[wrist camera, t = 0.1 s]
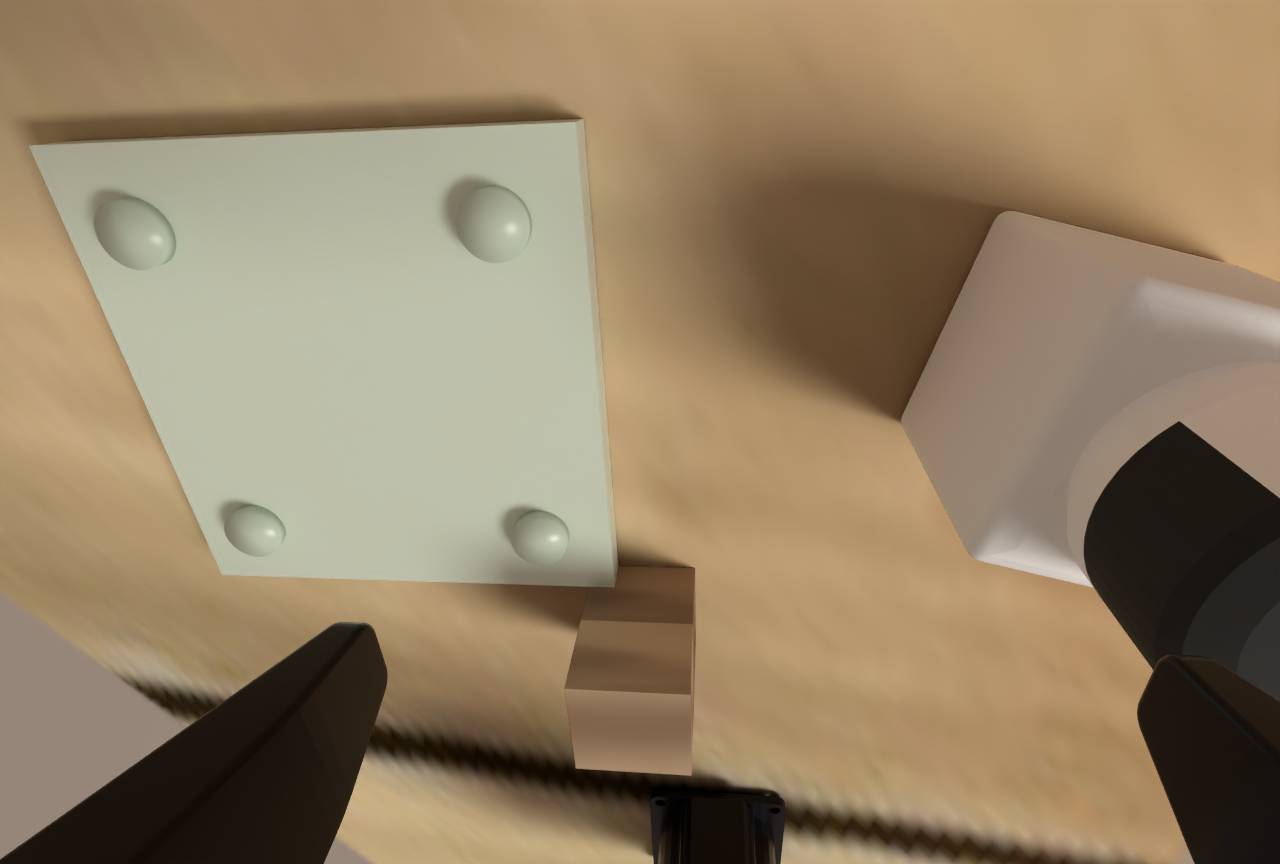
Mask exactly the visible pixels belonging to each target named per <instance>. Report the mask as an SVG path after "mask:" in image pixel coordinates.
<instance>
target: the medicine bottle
mask: <svg viewBox="0 0 1280 864" xmlns="http://www.w3.org/2000/svg"><path fill="white" fill-rule="evenodd" d="M901 425H902V427H903V428H904V430H905V432H906V434H907V436H908V438H909V440H910V442H911V444H912V446H913V448H914V450H915V452H916V453H917V455H918V457H919V459H920V461H921V463H922V465H923V467H924V469H925V471H926V473H927V475H928V477H929V479H930V480H931V482H932V484H933V486H934V488H935V490H936V492H937V494H938V496H939V498H940V500H941V502H942V504H943V506H944V507H945V509H946V511H947V513H948V515H949V517H950V519H951V521H952V523H953V525H954V527H955V529H956V531H957V532H958V534H959V536H960V538H961V540H962V542H963V544H964V546H965V548H966V550H967V552H968V554H969V555H970V556H972V557H973V558H974V559H976V560H978V561H982V562H987V563H991V564H995V565H999V566H1004V567H1008V568H1012V569H1016V570H1021V571H1025V572H1029V573H1033V574H1038V575H1042V576H1046V577H1050V578H1055V579H1059V580H1063V581H1067V582H1072V583H1076V584H1080V585H1085V586H1089V587H1093V588H1094V589H1095V590H1096V592H1097V593H1098V594H1099V596H1100V597H1101V598H1102V600H1103V601H1104V603H1105V604H1106V605H1107V607H1108V608H1109V609H1110V611H1111V612H1112V614H1113V615H1114V616H1115V618H1116V619H1117V621H1118V622H1119V623H1120V625H1121V626H1122V627H1123V629H1124V630H1125V632H1126V633H1127V634H1128V636H1129V637H1130V638H1131V640H1132V641H1133V643H1134V644H1135V645H1136V647H1137V648H1138V650H1139V651H1140V652H1141V654H1142V655H1143V656H1144V658H1145V659H1146V661H1147V662H1148V663H1149V665H1150V666H1151V667H1152V669H1153V670H1154V668H1155V666H1156V664H1157V662H1158V661H1159V660H1160V659H1161V658H1162V657H1164V656H1165V655H1170V654H1171V655H1197V656H1205V657H1209V658H1212V659H1214V660H1216V661H1217V662H1219V663H1221V664H1222V665H1224V666H1226V667H1227V668H1229V669H1230V670H1232V671H1233V672H1235V673H1237V674H1238V675H1240V676H1241V677H1243V678H1245V679H1246V680H1248V681H1249V682H1251V683H1252V684H1254V685H1256V686H1257V687H1259V688H1260V689H1262V690H1264V691H1265V692H1267V693H1268V694H1270V695H1272V696H1273V697H1275V698H1276V699H1278V700H1279V701H1280V282H1278V281H1275V280H1273V279H1270V278H1268V277H1265V276H1262V275H1260V274H1257V273H1255V272H1252V271H1250V270H1247V269H1244V268H1242V267H1239V266H1236V265H1232V264H1228V263H1224V262H1220V261H1216V260H1212V259H1208V258H1204V257H1200V256H1196V255H1192V254H1188V253H1184V252H1179V251H1175V250H1171V249H1167V248H1163V247H1159V246H1155V245H1151V244H1147V243H1143V242H1139V241H1135V240H1131V239H1127V238H1122V237H1118V236H1114V235H1110V234H1106V233H1102V232H1098V231H1094V230H1090V229H1086V228H1082V227H1078V226H1074V225H1070V224H1066V223H1061V222H1057V221H1053V220H1049V219H1045V218H1041V217H1037V216H1033V215H1029V214H1025V213H1021V212H1017V211H1005V212H1003V213H1001V214H999V215H998V216H997V217H996V219H995V220H994V222H993V224H992V226H991V228H990V230H989V232H988V235H987V237H986V239H985V241H984V243H983V245H982V247H981V249H980V252H979V254H978V256H977V258H976V260H975V262H974V264H973V266H972V269H971V271H970V273H969V275H968V277H967V279H966V281H965V283H964V286H963V288H962V290H961V292H960V294H959V296H958V298H957V300H956V303H955V305H954V307H953V309H952V311H951V313H950V315H949V317H948V319H947V322H946V324H945V326H944V328H943V330H942V332H941V334H940V336H939V339H938V341H937V343H936V345H935V347H934V349H933V351H932V353H931V356H930V358H929V360H928V362H927V364H926V366H925V368H924V370H923V373H922V375H921V377H920V379H919V381H918V383H917V385H916V387H915V390H914V392H913V394H912V396H911V398H910V400H909V402H908V404H907V406H906V409H905V411H904V413H903V415H902V419H901Z"/></svg>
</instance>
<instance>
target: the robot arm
mask: <svg viewBox="0 0 1280 864" xmlns="http://www.w3.org/2000/svg"><path fill="white" fill-rule="evenodd" d="M386 685H387V668H386V665H385V661H384V658H383V655H382V652H381V649H380V646H379V643H378V640H377V637H376V634H375V631H374V629H373V627H372V626H371V625H369V624H367V623H356V622H339V623H335V624H333V625H331V626H330V627H328V628H327V629H325V630H324V631H323V632H321V633H320V634H318V635H317V636H316V637H314V638H313V639H311V640H310V641H308V642H307V643H306V644H304V645H303V646H301V647H300V648H299V649H297V650H296V651H294V652H293V653H291V654H290V655H289V656H287V657H286V658H284V659H283V660H282V661H280V662H279V663H277V664H276V665H275V666H273V667H272V668H270V669H269V670H267V671H266V672H265V673H263V674H262V675H260V676H259V677H258V678H256V679H255V680H253V681H252V682H250V683H249V684H248V685H246V686H245V687H243V688H242V689H241V690H239V691H238V692H236V693H235V694H233V695H232V696H231V697H229V698H228V699H226V700H225V701H224V702H222V703H221V704H219V705H218V706H217V707H215V708H214V709H212V710H211V711H209V712H208V713H207V714H205V715H204V716H202V717H201V718H200V719H198V720H197V721H195V722H194V723H192V724H191V725H190V726H188V727H187V728H185V729H184V730H183V731H181V732H180V733H178V734H177V735H176V736H174V737H173V738H171V739H170V740H168V741H167V742H166V743H164V744H163V745H161V746H160V747H159V748H157V749H156V750H154V751H153V752H151V753H150V754H149V755H147V756H146V757H144V758H143V759H142V760H140V761H139V762H137V763H136V764H134V765H133V766H132V767H130V768H129V769H127V770H126V771H125V772H123V773H122V774H120V775H119V776H118V777H116V778H115V779H113V780H112V781H111V782H109V783H108V784H106V785H105V786H103V787H102V788H101V789H99V790H98V791H96V792H95V793H93V794H92V795H91V796H89V797H88V798H86V799H85V800H84V801H82V802H81V803H79V804H78V805H77V806H75V807H74V808H72V809H71V810H69V811H68V812H67V813H65V814H64V815H63V816H61V817H59V818H58V819H57V820H55V821H54V822H52V823H51V824H50V825H48V826H47V827H45V828H44V829H42V830H41V831H40V832H38V833H37V834H35V835H34V836H33V837H31V838H30V839H28V840H27V841H25V842H24V843H23V844H21V845H20V846H18V847H17V848H16V849H14V850H13V851H11V852H10V853H8V854H7V855H6V856H4V857H3V858H1V859H0V864H324V861H325V859H326V857H327V854H328V852H329V850H330V848H331V845H332V843H333V841H334V839H335V836H336V834H337V831H338V829H339V827H340V824H341V822H342V819H343V817H344V814H345V812H346V809H347V806H348V803H349V800H350V797H351V795H352V792H353V789H354V786H355V783H356V779H357V776H358V773H359V770H360V767H361V764H362V761H363V758H364V755H365V752H366V749H367V746H368V742H369V739H370V736H371V733H372V730H373V727H374V724H375V721H376V718H377V715H378V712H379V709H380V705H381V702H382V699H383V696H384V693H385V690H386ZM1137 716H1138V722H1139V726H1140V729H1141V732H1142V735H1143V737H1144V740H1145V742H1146V745H1147V747H1148V750H1149V752H1150V755H1151V757H1152V760H1153V762H1154V765H1155V767H1156V770H1157V772H1158V775H1159V777H1160V780H1161V782H1162V785H1163V787H1164V790H1165V792H1166V795H1167V797H1168V800H1169V802H1170V804H1171V807H1172V809H1173V812H1174V814H1175V817H1176V819H1177V822H1178V824H1179V827H1180V829H1181V832H1182V834H1183V837H1184V839H1185V842H1186V844H1187V847H1188V849H1189V852H1190V854H1191V856H1192V859H1193V861H1194V863H1195V864H1280V701H1279V700H1278V699H1276V698H1275V697H1273V696H1272V695H1270V694H1268V693H1267V692H1265V691H1264V690H1262V689H1260V688H1259V687H1257V686H1256V685H1254V684H1252V683H1251V682H1249V681H1248V680H1246V679H1245V678H1243V677H1241V676H1240V675H1238V674H1237V673H1235V672H1233V671H1232V670H1230V669H1229V668H1227V667H1226V666H1224V665H1222V664H1221V663H1219V662H1217V661H1216V660H1214V659H1212V658H1209V657H1205V656H1197V655H1171V654H1170V655H1165V656H1164V657H1162V658H1161V659H1160V660H1159V661H1158V662H1157V664H1156V666H1155V668H1154V670H1153V673H1152V675H1151V677H1150V679H1149V681H1148V683H1147V686H1146V688H1145V690H1144V692H1143V694H1142V696H1141V699H1140V701H1139V704H1138V710H1137ZM650 810H651V826H652V842H653V858H654V864H780V862H781V852H782V842H783V832H784V822H785V812H786V810H785V802H784V800H783V799H782V798H780V797H776V796H764V795H748V794H732V793H717V792H701V791H686V790H670V789H656V790H653V791H652V792H651V797H650Z"/></svg>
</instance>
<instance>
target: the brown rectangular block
mask: <svg viewBox="0 0 1280 864" xmlns="http://www.w3.org/2000/svg"><path fill="white" fill-rule="evenodd" d="M695 645H696V630H695V568H676V567H641V566H619V567H618V573H617V578H616V583H615V588H613V587H588V591H587V596H586V600H585V604H584V608H583V612H582V617H581V621H580V625H579V629H578V633H577V638H576V642H575V646H574V650H573V654H572V659H571V663H570V667H569V671H568V675H567V680H566V684H565V688H564V690H565V697H566V704H567V711H568V718H569V725H570V732H571V738H572V745H573V752H574V759H575V766H576V769H591V770H608V771H624V772H641V773H657V774H674V775H690V776H692V745H693V712H694V678H695Z"/></svg>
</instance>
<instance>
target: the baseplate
mask: <svg viewBox="0 0 1280 864" xmlns="http://www.w3.org/2000/svg"><path fill="white" fill-rule="evenodd" d="M29 148H30V150H31V152H32V154H33V157H34V159H35V161H36V163H37V166H38V168H39V170H40V172H41V174H42V177H43V179H44V181H45V183H46V186H47V188H48V190H49V192H50V194H51V197H52V199H53V201H54V203H55V205H56V208H57V210H58V212H59V214H60V217H61V219H62V221H63V223H64V225H65V228H66V230H67V232H68V234H69V237H70V239H71V241H72V243H73V245H74V248H75V250H76V252H77V254H78V257H79V259H80V261H81V263H82V265H83V268H84V270H85V272H86V274H87V276H88V279H89V281H90V283H91V285H92V288H93V290H94V292H95V294H96V296H97V299H98V301H99V303H100V305H101V308H102V310H103V312H104V314H105V316H106V319H107V321H108V323H109V325H110V328H111V330H112V332H113V334H114V336H115V339H116V341H117V343H118V345H119V347H120V350H121V352H122V354H123V356H124V359H125V361H126V363H127V365H128V367H129V370H130V372H131V374H132V376H133V379H134V381H135V383H136V385H137V387H138V390H139V392H140V394H141V396H142V399H143V401H144V403H145V405H146V407H147V410H148V412H149V414H150V416H151V418H152V421H153V423H154V425H155V427H156V430H157V432H158V434H159V436H160V438H161V441H162V443H163V445H164V447H165V450H166V452H167V454H168V456H169V458H170V461H171V463H172V465H173V467H174V469H175V472H176V474H177V476H178V478H179V481H180V483H181V485H182V487H183V489H184V492H185V494H186V496H187V498H188V501H189V503H190V505H191V507H192V509H193V512H194V514H195V516H196V518H197V521H198V523H199V525H200V527H201V529H202V532H203V534H204V536H205V538H206V540H207V543H208V545H209V547H210V549H211V552H212V554H213V556H214V558H215V560H216V563H217V565H218V567H219V569H220V572H221V574H222V575H238V576H270V577H301V578H332V579H363V580H394V581H425V582H457V583H488V584H519V585H550V586H581V587H613V588H615V583H616V578H617V573H618V567H619V565H618V552H617V540H616V527H615V514H614V501H613V488H612V476H611V463H610V450H609V437H608V424H607V411H606V399H605V386H604V373H603V360H602V347H601V335H600V322H599V309H598V296H597V283H596V270H595V258H594V245H593V232H592V219H591V206H590V194H589V181H588V168H587V155H586V142H585V129H584V119H566V120H543V121H520V122H498V123H475V124H452V125H429V126H406V127H383V128H360V129H337V130H314V131H291V132H268V133H246V134H223V135H200V136H177V137H154V138H131V139H108V140H85V141H63V142H55V143H47V144H39V145H30V146H29Z"/></svg>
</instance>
